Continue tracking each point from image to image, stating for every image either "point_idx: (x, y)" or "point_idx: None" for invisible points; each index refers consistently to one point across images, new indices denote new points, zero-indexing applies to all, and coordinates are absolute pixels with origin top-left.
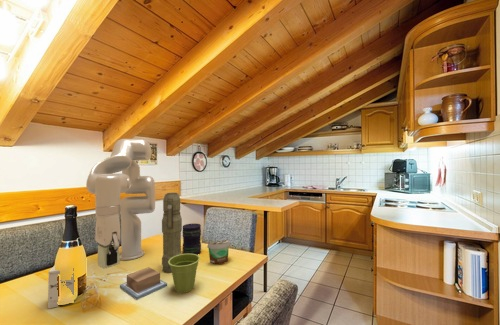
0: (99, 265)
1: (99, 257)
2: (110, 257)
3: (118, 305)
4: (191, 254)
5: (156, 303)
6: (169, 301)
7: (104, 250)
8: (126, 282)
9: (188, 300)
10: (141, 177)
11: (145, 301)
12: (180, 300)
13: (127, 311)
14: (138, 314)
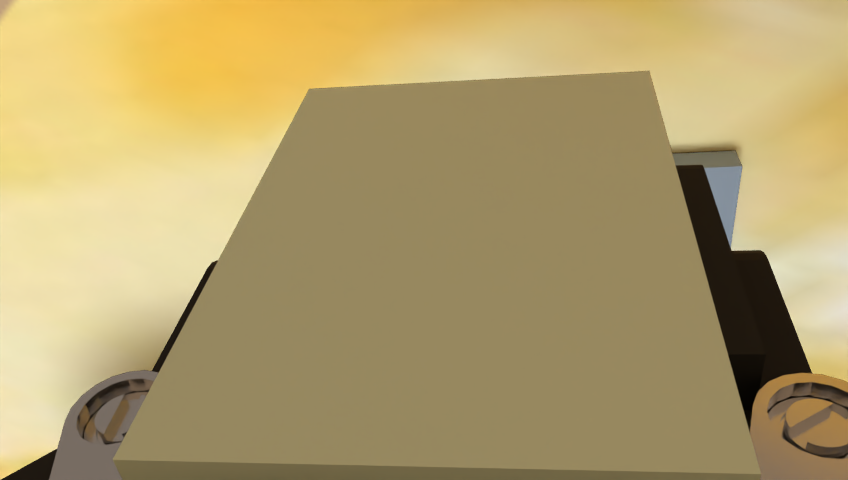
0: (548, 82)
1: (550, 186)
2: (172, 336)
3: (349, 19)
4: None
5: (151, 246)
6: (119, 313)
7: (159, 410)
8: (729, 228)
9: (52, 387)
10: None
11: (244, 206)
12: (85, 360)
13: (174, 44)
14: (65, 92)
